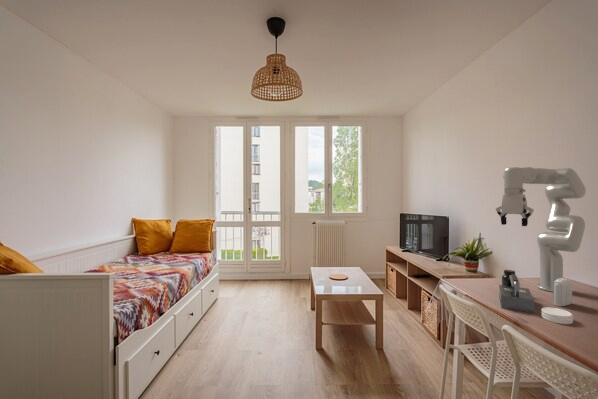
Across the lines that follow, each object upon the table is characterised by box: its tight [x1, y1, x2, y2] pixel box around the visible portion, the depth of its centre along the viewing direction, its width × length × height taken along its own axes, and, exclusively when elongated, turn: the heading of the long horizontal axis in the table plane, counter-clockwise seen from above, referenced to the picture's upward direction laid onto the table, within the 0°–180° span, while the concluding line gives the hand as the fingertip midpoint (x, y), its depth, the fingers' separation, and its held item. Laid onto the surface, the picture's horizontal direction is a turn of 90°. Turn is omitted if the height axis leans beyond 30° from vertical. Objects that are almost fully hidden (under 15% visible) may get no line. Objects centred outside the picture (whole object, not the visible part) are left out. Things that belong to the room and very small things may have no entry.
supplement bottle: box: [501, 269, 516, 286], centre depth 153 cm, size 7×7×12 cm
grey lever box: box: [498, 281, 535, 314], centre depth 137 cm, size 18×12×12 cm, turn 147°
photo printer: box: [552, 277, 573, 307], centre depth 136 cm, size 10×4×12 cm, turn 115°
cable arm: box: [510, 273, 521, 287], centre depth 139 cm, size 14×3×3 cm, turn 147°
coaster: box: [540, 306, 574, 325], centre depth 120 cm, size 10×10×4 cm
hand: (513, 225), depth 145 cm, fingers open, 9 cm apart
